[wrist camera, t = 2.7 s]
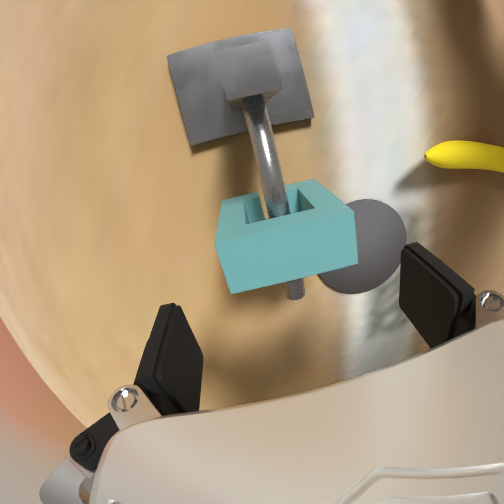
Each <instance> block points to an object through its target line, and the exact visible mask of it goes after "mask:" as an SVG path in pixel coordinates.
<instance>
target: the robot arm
mask: <svg viewBox="0 0 504 504" xmlns="http://www.w3.org/2000/svg"><path fill="white" fill-rule="evenodd" d="M474 290H475V289H474V288H473V287H472V286H470V285H469V284H468V283H467V282H466V281H465V280H464V279H462V278H461V277H460V276H459V275H458V274H456V273H455V272H454V271H453V270H452V269H450V268H449V267H448V266H447V265H446V264H444V263H443V262H442V261H441V260H439V259H438V258H437V257H436V256H434V255H433V254H432V253H431V252H429V251H428V250H427V249H425V248H424V247H423V246H422V245H420V244H419V243H417V242H415V243H411V244H408V245H405V246H404V248H403V250H401V268H400V293H399V305H400V308H401V309H402V311H403V312H404V313H405V315H406V316H407V317H408V319H409V320H410V321H411V322H412V324H413V325H414V326H415V328H416V329H417V330H418V332H419V333H420V334H421V336H422V337H423V338H424V340H425V341H426V343H427V344H428V345H429V347H430V348H431V349H429V350H427V351H425V352H422V353H420V354H417V355H415V356H413V357H410V358H408V359H405V360H403V361H400V362H397V363H395V364H392V365H389V366H387V367H384V368H381V369H378V370H375V371H373V372H370V373H367V374H364V375H361V376H358V377H354V378H351V379H348V380H345V381H342V382H338V383H335V384H331V385H328V386H324V387H320V388H317V389H313V390H309V391H305V392H301V393H297V394H293V395H288V396H284V397H279V398H275V399H270V400H265V401H260V402H254V403H249V404H243V405H237V406H231V407H224V408H218V409H211V410H203V411H199V405H200V392H201V381H202V370H203V354H202V351H201V349H200V347H199V345H198V343H197V341H196V339H195V336H194V334H193V332H192V330H191V328H190V326H189V324H188V322H187V319H186V317H185V315H184V313H183V311H182V308H181V307H180V306H179V305H178V306H176V304H175V303H170V304H166V305H161V306H160V308H159V311H158V314H157V317H156V320H155V322H154V325H153V328H152V331H151V334H150V337H149V340H148V341H147V343H146V346H145V349H144V352H143V355H142V359H141V362H140V365H139V368H138V371H137V374H136V378H135V381H134V384H133V385H124V386H122V387H120V388H118V389H117V390H115V391H114V392H113V393H112V395H111V396H110V398H109V400H108V409H109V411H110V412H109V413H108V414H107V415H105V416H104V417H102V418H101V419H100V420H98V421H97V422H96V423H94V424H93V425H92V426H90V427H89V428H87V429H86V430H85V431H83V432H82V433H80V434H79V435H78V436H77V437H76V438H74V440H73V441H72V443H71V446H70V455H71V457H70V458H69V459H68V458H66V457H65V459H64V460H63V461H62V462H61V463H60V464H59V466H58V467H57V468H56V469H55V470H54V471H53V473H52V474H51V475H50V476H49V477H48V479H47V480H46V481H45V482H44V483H43V485H42V486H41V488H40V493H39V494H40V499H41V501H42V503H43V504H504V296H503V295H501V294H500V293H498V292H496V291H491V290H486V291H482V292H480V293H479V294H478V295H477V296H476V295H475V294H474Z"/></svg>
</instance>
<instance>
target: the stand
mask: <svg viewBox="0 0 504 504" xmlns="http://www.w3.org/2000/svg"><path fill="white" fill-rule="evenodd" d="M167 60H168V64H169V68H170V72H171V76H172V80H173V84H174V87H175V91H176V95H177V99H178V102H179V106H180V110H181V114H182V117H183V121H184V124H185V128H186V132H187V135H188V139H189V142H190V146H192V145H196V144H199V143H203V142H206V141H210V140H213V139H217V138H221V137H225V136H229V135H232V134H236V133H241V132H245V131H248V132H249V136H250V140H251V144H252V148H253V152H254V156H255V160H256V164H257V168H258V173H259V177H260V181H261V185H262V189H263V193H264V198H265V202H266V206H267V211H268V215H269V219H271V218H275V217H280V216H284V215H288V214H291V213H290V208H289V203H288V198H287V193H286V189H285V184H284V179H283V175H282V170H281V166H280V161H279V157H278V152H277V148H276V144H275V139H274V135H273V131H272V127H271V126H272V125H277V124H282V123H287V122H292V121H298V120H303V119H309V118H314V113H313V109H312V104H311V100H310V96H309V92H308V87H307V83H306V79H305V76H304V72H303V68H302V64H301V61H300V57H299V53H298V50H297V46H296V43H295V39H294V36H293V33H292V30H291V28H286V29H278V30H271V31H265V32H258V33H253V34H247V35H242V36H237V37H232V38H228V39H224V40H219V41H215V42H211V43H208V44H204V45H200V46H197V47H193V48H190V49H186V50H183V51H180V52H177V53H174V54H171V55H168V56H167ZM284 287H285V291H286V296H287V298H288V299H290V300H298V299H300V298H302V297H303V296H304V295H305V289H304V283H303V278H299V279H295V280H291V281H287V282H284Z"/></svg>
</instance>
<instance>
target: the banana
mask: <svg viewBox="0 0 504 504" xmlns="http://www.w3.org/2000/svg"><path fill="white" fill-rule="evenodd" d="M424 156H425V159H426V160H427V161H428V162H429V163H431V164H433V165H435V166H438V167H441V168H447V169H484V170H492V171H498V172H503V173H504V147H499V146H495V145H490V144H485V143H479V142H472V141H459V140H454V141H446V142H442V143H440V144H437V145H435V146H434V147H432V148H431V149H429V150H428V151H427V152H426V153H425V155H424Z"/></svg>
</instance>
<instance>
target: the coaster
mask: <svg viewBox="0 0 504 504" xmlns="http://www.w3.org/2000/svg"><path fill="white" fill-rule="evenodd" d="M346 205H347V206H348V207H349V208H351V209H352V210H353V211H354V219H355V229H356V241H357V254H358V264H354V265H350V266H347V267H343V268H339V269H335V270H331V271H327V272H323V273H319V275H320V276H321V278H322V279H323V281H324V282H325V283H326V284H327V285H328V286H330V287H331V288H333V289H334V290H337V291H339V292H343V293H348V294H356V293H362V292H366V291H369V290H372V289H374V288H376V287H378V286H379V285H381V284H382V283H384V282H385V281H386V280H387V279H388V278H389V277H390V276H391V275H392V274H393V273H394V272H395V270H396V269H397V268H398V266H399V264H400V262H401V250H403V248H404V246H405V245H406V230H405V226H404V223H403V221H402V219H401V217H400V216H399V214H398V213H397V212H396V211H395V210H394V209H393V208H391V207H390V206H389V205H387V204H385V203H383V202H380V201H377V200H372V199H363V200H357V201H354V202H351V203H348V204H346Z"/></svg>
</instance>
